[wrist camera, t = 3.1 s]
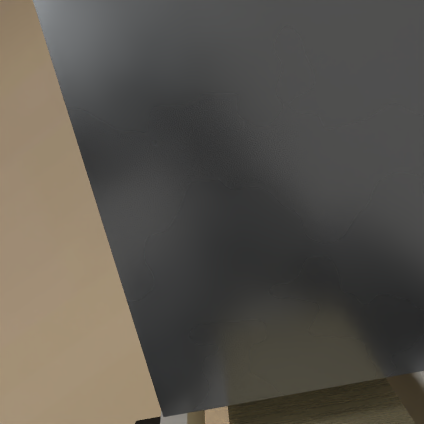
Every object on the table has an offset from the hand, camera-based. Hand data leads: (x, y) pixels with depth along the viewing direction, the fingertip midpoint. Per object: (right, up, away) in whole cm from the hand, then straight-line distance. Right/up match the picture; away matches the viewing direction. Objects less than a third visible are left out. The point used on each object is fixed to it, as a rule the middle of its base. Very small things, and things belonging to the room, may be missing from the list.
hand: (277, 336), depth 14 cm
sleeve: (-1, +7, 0) cm, 7 cm away
